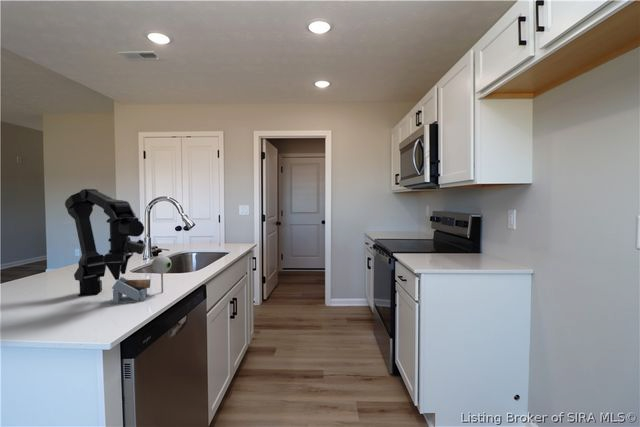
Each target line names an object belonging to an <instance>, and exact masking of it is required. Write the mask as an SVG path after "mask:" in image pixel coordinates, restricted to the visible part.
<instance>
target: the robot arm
mask: <svg viewBox="0 0 640 427" xmlns="http://www.w3.org/2000/svg"><path fill="white" fill-rule="evenodd" d="M64 205H65V206H64V207H65V209H66V210H67V213H68V215H69V216H70V217H71V218H72V219H74V222H75V228H76V232H77V236H78V242H79V246H80V252H81V253H80V254H81V256H80V258H79V260H78V262H77V263H78V264H77V265H78V267H77V269H76V271H75V273H74V274H73V276H74V280H75V281H78V282H79V285H78V286H79V294H78V295H77V296H78V297H83V296H84V297H85V296H95V295H99V294H100V293H101V292H102V291H103V280H101V278H104V277H105V275H106V269H108V270H109V272H110V273H111V275H112V277H113V278H114V281H117V280H119V279H120V278H121V277H120V275H125V274H126V272H127V267H128V263H129V259H131V258H132V257H133V256H134V253H135V254H138V255H142V254H143V253H144V252H145V249H146V246H147V244H146V243H145V242H144V239H143V240H142V239H138V240H137V241H132V240H131V237H140V236H142V235H143V233H144V231H145V226H144V224H143V222H141V221H140V220H139V217H137V216H136V213H135V211H134V210H133V208H132V206H131V205H130V202H128V200H123V199H115V198H114V199H113V198H112V197H111V196H108V195H106V194H104V193H102V192H100V191H99V190H98V189H96V188H83V189H81V190H79V192H76V193H74V194H72V195H71V194H70V196H69V197H68V198H67V199H66V200H65V202H64ZM95 205H96V206H98V207H100V208H101V209H103V213H104V214H105V215H106V216H107V217H109V218H108V219H106V223H109V238H108V240H107V241H108V242H109V244H110V246H109V249H108V253H105V255H104V254H100V253H99V252H98V251H97V247H96V242H95V241H96V240H95V236H94V232H93V227H92V223H91V218H90V217H91V215H92V213H93V210H94V206H95Z"/></svg>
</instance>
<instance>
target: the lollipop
mask: <svg viewBox="0 0 640 427" xmlns="http://www.w3.org/2000/svg"><path fill="white" fill-rule="evenodd" d="M171 267H172V260H171V259H170V258H169V257H168V256H165V255H159V256H156V257H155V258H154V259H153V261H152V263H151V268H152V271H154V272H155V273H156V274H160V279H161V280H160V281H161V282H160V285H161V293H162V294H163V293H164V274H165V273H166V274H167V272H169V271H170V269H171Z"/></svg>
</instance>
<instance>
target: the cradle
mask: <svg viewBox="0 0 640 427" xmlns="http://www.w3.org/2000/svg"><path fill="white" fill-rule="evenodd" d="M126 280H129V279H127V277H126V278H125V277H124V276H121V277H119V280H116V282H115V283H114V284H113V285H112V287H111V289H112V300H111V302H109V305H116V304H118V305H119V304H125V303H126V304H128V303H137V302H138V303H139V302H145V301H146V300H147V299H148V297H149V293H148V288H132V287H130V286H129V285H127V284H125V281H126Z"/></svg>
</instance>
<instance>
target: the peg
mask: <svg viewBox="0 0 640 427" xmlns="http://www.w3.org/2000/svg"><path fill="white" fill-rule="evenodd" d="M125 284H127V285H129V286H130V287H132V288H147V289H149V288H151V279H150V278H149V279H147V278H146V279H128V280H126V281H125Z"/></svg>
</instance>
